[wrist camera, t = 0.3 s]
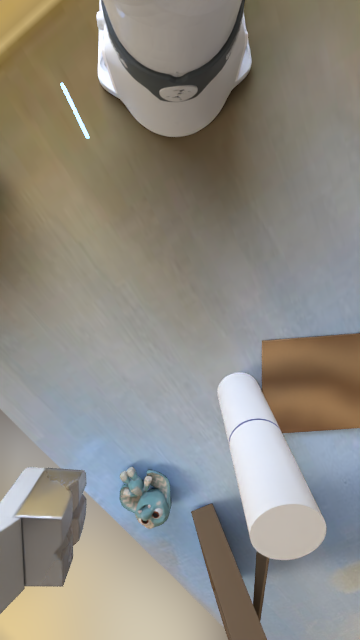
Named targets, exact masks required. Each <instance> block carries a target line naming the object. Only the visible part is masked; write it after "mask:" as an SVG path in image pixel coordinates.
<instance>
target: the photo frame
mask: <svg viewBox="0 0 360 640" xmlns="http://www.w3.org/2000/svg"><path fill="white" fill-rule="evenodd" d="M191 513H192V517H193V520H194V524H195V527H196V531H197V535H198V538H199V542H200V545H201V549H202V553H203V556H204V560H205V564H206V567H207V571H208V574H209V578H210V582H211V585H212V588H213V592H214V595H215V598H216V602H217V605H218V608H219V611H220V615H221V618H222V621H223V624H224V628H225V631H226V634H227V637H228V640H267V638H266V636H265V633H264V631H263V628H262V626H261V623H260V619H261V612H262V605H263V598H264V591H265V585H266V578H267V571H268V564H269V558H268V557H266V556H264V555H262V554H260V553H259V552H258V551H257V554H256V569H255V585H254V601H253V604H252V601H251V599H250V596H249V594H248V591H247V589H246V586H245V584H244V581H243V579H242V576H241V574H240V571H239V569H238V566H237V564H236V561H235V559H234V557H233V554H232V552H231V549H230V547H229V544H228V542H227V539H226V537H225V534H224V532H223V529H222V527H221V524H220V522H219V519H218V517H217V514H216V512H215V509H214V507H213V505H212V504H209V505H207V506H204V507H202V508H199V509H197V510H194V511H192V512H191Z"/></svg>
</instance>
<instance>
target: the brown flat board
mask: <svg viewBox="0 0 360 640" xmlns="http://www.w3.org/2000/svg"><path fill="white" fill-rule="evenodd" d="M262 393H263V395H264V397H265V399H266V401H267V403H268V405H269V407H270V409H271V411H272V413H273V415H274V417H275V419H276V422H277V424H278V426H279V428H280V430H281V432H282V433H294V432H308V431H323V430H337V429H351V428H360V333H357V334H344V335H331V336H318V337H304V338H291V339H278V340H265V341H262Z"/></svg>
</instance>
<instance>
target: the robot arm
mask: <svg viewBox="0 0 360 640" xmlns="http://www.w3.org/2000/svg"><path fill="white" fill-rule="evenodd" d="M244 2H245V0H100V11H99V12H97V25H98V29H99V48H98V78H99V81H100V84H101V85H102V87H103V88H104V89H105V90H107V91H108V92H109V93H111V94H113V95H114V96H116V97H117V98H119V99H120V100H121V101H122V102H123V103H124V104H125V106H126V107H127V108H128V110H129V111H130V113H131V114H132V115H133V116H134V118H135V119H136V120H137V121H138V122H139V123H140V124H142V125H143V126H144V127H146V128H147V129H149V130H150V131H152V132H154V133H157V134H159V135H163V136H168V137H182V136H187V135H190V134H193V133H195V132H198V131H199V130H201V129H203V128H204V127H206V126H207V125H208V124H209V123H210V122H211V121H212V120H213V119H214V118H215V117H216V116H217V115H218V113H219V112H220V110H221V109H222V107H223V105H224V103H225V101H226V100H227V98H228V96H229V94H230V92H231V91H232V89H233V88H234V87H235V86H237V85H238V84H239V83H240V82H241V81H242V80H243V79H244V78H245V77H246V76H247V75H248V73H249V71H250V68H251V64H252V59H251V53H250V47H249V41H248V32H247V30H246V24H245V18H244ZM106 67H107V68H106ZM60 85H61V87H62V89H63V91H64V93H65V95H66V97H67V99H68V101H69V104H70V106H71V108H72V110H73V112H74V114H75V116H76V118H77V120H78V122H79V124H80V126H81V128H82V130H83V132H84V135H85V137H86V138H87V139H88V138H90V137H89V135H88V133H87V131H86V129H85V127H84V125H83V123H82V120H81V118H80V116H79V114H78V112H77V110H76V108H75V106H74V104H73V102H72V100H71V98H70V96H69V93H68V91H67V89H66V87H65V85H64V84H63V83H61V84H60ZM85 486H86V472H85V471H84V470H71V469H57V468H39V467H28V468H26V469H24V470H23V472H22V473H21V474H20V476H19V477H18V478H17V480H16V481H15V483H14V484H13V485H12V487H11V488H10V490H9V491H8V493H7V494H6V495H5V497H4V498H3V499H2V501H1V502H0V614H1V613H2V612H3V610H5V608H6V607H7V606H8V605H9V604H10V603H11V602H12V601H13V600H14V599H15V598H16V597H17V596H18V595H19V594H20V593H21V592H22V591H23V590H24V586H63V585H64V582H65V579H66V576H67V573H68V571H69V568H70V565H71V562H72V559H73V545H74V544H76V543H77V542H78V541H79V539H80V536H81V533H82V529H83V525H84V520H85V515H86V498H85V496H84V495H83V491H84V489H85Z"/></svg>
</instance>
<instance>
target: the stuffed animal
mask: <svg viewBox="0 0 360 640" xmlns="http://www.w3.org/2000/svg"><path fill="white" fill-rule="evenodd" d="M129 477H130V478H131V479H130V478H129ZM120 478H121V480H122V481H123V482H124V483H126V484H128V485H126V484H124V485H123V486H122V488H121V490H120V501H121V504H122V506H123V507H124V508H125V509H127V510H129V511H131V512H133V513H135V516H136V518H137V520H138V521H139V523H141V524H142V525H144V526H145V527H146V528H148V529H151V528H153V527H156V526H159V525H162V524H163V523H164V522H165V521H166V520H167V519H168V516H169V513H170V509H171V497H170V484H169V481H168V479H167V477H166V476H164V475H163V474H161V473H160V472H156V471H153V470H148V471H147V476H146V477H145V480H144V482H143V480H142V479H141V478H140V477H138V476H137V473H136V470H135V469H134V468H133V467H130V468H128V470H127V472H126V471H123V472H122V473H121V474H120ZM149 485H151V486H153V487H155V488H156V489H151V490H148V488H149ZM147 490H148V491H147Z"/></svg>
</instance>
